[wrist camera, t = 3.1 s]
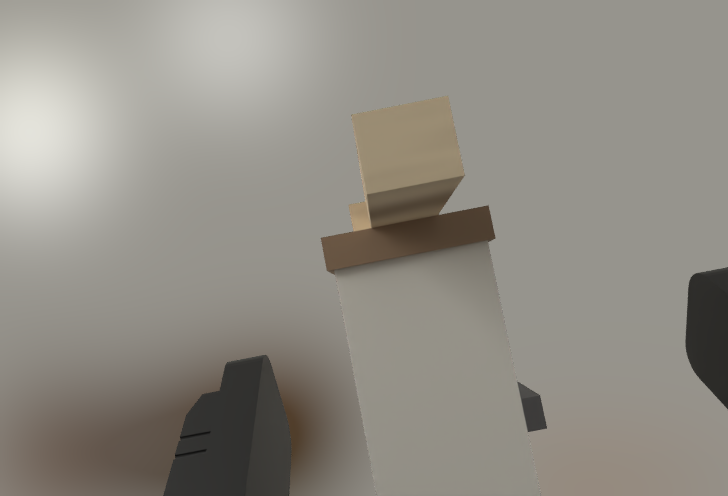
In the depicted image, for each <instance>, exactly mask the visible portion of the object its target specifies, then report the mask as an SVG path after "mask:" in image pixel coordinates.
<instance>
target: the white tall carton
mask: <svg viewBox="0 0 728 496" xmlns="http://www.w3.org/2000/svg"><path fill="white" fill-rule="evenodd" d="M493 239H495V234H494V230H493V225H492V220H491V215H490V211H489V206H483V207H478V208H473V209H468V210H462V211H457V212H452V213H447V214H442V215H437V216H431V217H426V218H421V219H416V220H411V221H406V222H400V223H395V224H390V225H385V226H380V227H375V228H369V229H364V230H359V231H354V232H349V233H344V234H338V235H334V236H328V237H323V238H321V241H322V246H323V252H324V257H325V263H326V268H327V271H328V272H330V273H332V274H334V275H335V277H336V282H337V288H338V293H339V298H340V304H341V309H342V314H343V320H344V325H345V330H346V336H347V341H348V346H349V352H350V357H351V362H352V368H353V373H354V378H355V384H356V389H357V394H358V400H359V405H360V410H361V416H362V421H363V426H364V432H365V437H366V442H367V448H368V453H369V458H370V464H371V468H372V474H373V480H374V485H375V490H376V495H377V496H541V493H540V488H539V483H538V478H537V474H536V469H535V465H534V459H533V455H532V450H531V445H530V440H529V435H528V432H530V431H536V430H541V429H546V428H547V426H546V421H545V417H544V412H543V407H542V403H541V398H540V395H539V394H537V393H535V392H534V391H532V390H530V389H529V388H527V387H526V386H524V385H522V384H521V383H519V382H517V378H516V373H515V369H514V364H513V359H512V355H511V350H510V345H509V341H508V336H507V330H506V326H505V321H504V316H503V311H502V307H501V302H500V297H499V293H498V288H497V283H496V278H495V274H494V269H493V264H492V259H491V254H490V250H489V245H488V242H489V241H491V240H493Z"/></svg>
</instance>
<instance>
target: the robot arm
mask: <svg viewBox="0 0 728 496" xmlns="http://www.w3.org/2000/svg"><path fill="white" fill-rule="evenodd" d="M687 307H688V308H687V325H686V352H687V356H688V359H689V362H690V364H691V366H692V368H693V370H694V372H695V373H696V375H697V376H698V377H699V378H700V379H701V381H702V382H703V383H704V384H705V385H706V386H707V387H708V388H709V389H710V390H711V391H712V392H713V394H714V395H715V396H716V397H717V398H718V399H719V400H720V401H721V402H722V403H723V404H724V406H725V407H726V408H727V409H728V267H727V268H723V269H717V270H712V271H706V272H701V273H696V274H694V275H693V276H692V277H691V279H690V282H689V288H688V306H687ZM180 438H181V441H179V443H178V446H177V450H176V453H175V458H176V459H175V460H173V464H172V467H171V471H170V474H169V478H168V481H167V485H166V489H165V492H164V495H163V496H289V489H290V468H291V438H290V431H289V425H288V421H287V417H286V413H285V410H284V406H283V403H282V400H281V397H280V393H279V390H278V386H277V383H276V380H275V376H274V373H273V369H272V366H271V363H270V360H269V358H268V357H267V356H266V355H262V356H257V357H252V358H247V359H241V360H237V361H231V362H227V364H226V365H225V370H224V374H223V378H222V383H221V387H220V391H217V392H212V393H207V394H203V395H202V396H201V397H200V398H199V400H198V401H197V402H196V403H195V405H194V406H193V407H192V408H191V410H190V411H189V412H188V414H187V415H186V418H185V421H184V425H183V428H182V432H181V436H180Z"/></svg>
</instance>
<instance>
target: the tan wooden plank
mask: <svg viewBox="0 0 728 496" xmlns="http://www.w3.org/2000/svg"><path fill="white" fill-rule="evenodd" d="M351 116H352V122H353V128H354V135H355V140H356V147H357V153H358V158H359V165H360V171H361V177H362V183H363V189H364V195H365V201H366V202H360V203H355V204H350V205H349V210H350V215H351V220H352V226H353V230H354V231H359V230H364V229H369V228H375V227H380V226H385V225H390V224H395V223H400V222H406V221H411V220H416V219H421V218H426V217H431V216H437V215H439V212H440V211H441V210H442V208H443V207H444V205H445V204H446V202H447V201H448V199H449V198H450V196H451V195H452V193H453V192H454V190H455V189H456V187H457V186H458V184H459V183H460V182H461V180H462V179H463V177H464V176H465V174H464V169H463V165H462V160H461V155H460V150H459V145H458V141H457V136H456V131H455V127H454V121H453V117H452V112H451V108H450V102H449V98H448V96H444V97H439V98H434V99H429V100H424V101H419V102H414V103H408V104H403V105H398V106H393V107H388V108H383V109H378V110H373V111H367V112H363V113H357V114H352V115H351Z"/></svg>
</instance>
